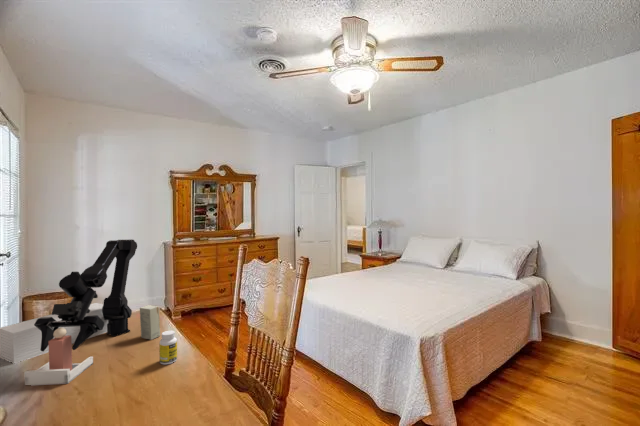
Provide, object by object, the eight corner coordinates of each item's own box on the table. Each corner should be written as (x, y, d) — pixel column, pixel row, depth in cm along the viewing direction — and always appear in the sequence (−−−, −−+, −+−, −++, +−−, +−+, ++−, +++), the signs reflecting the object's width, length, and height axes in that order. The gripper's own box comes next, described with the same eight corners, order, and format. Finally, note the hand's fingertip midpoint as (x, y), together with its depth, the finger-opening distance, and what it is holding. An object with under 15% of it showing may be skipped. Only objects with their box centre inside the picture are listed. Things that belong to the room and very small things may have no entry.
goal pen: (55, 365, 106) (54, 353, 106) (93, 363, 107) (92, 351, 107) (24, 385, 94) (24, 372, 94) (67, 383, 95) (67, 370, 95)
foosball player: (59, 369, 103) (57, 326, 102) (72, 369, 103) (71, 325, 103) (49, 376, 99) (48, 330, 98) (63, 375, 99) (61, 330, 99)
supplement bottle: (170, 365, 105) (169, 336, 105) (156, 364, 107) (155, 335, 106) (180, 358, 111) (180, 330, 110) (167, 356, 112) (166, 328, 112)
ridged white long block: (97, 326, 141) (96, 302, 141) (111, 330, 136) (111, 305, 136) (-1, 358, 113) (-2, 327, 112) (14, 364, 108) (12, 333, 108)
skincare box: (160, 336, 130) (160, 306, 129) (151, 340, 126) (150, 309, 125) (149, 333, 132) (149, 304, 132) (140, 337, 128) (139, 307, 128)
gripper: (37, 293, 104) (8, 341, 93) (98, 291, 105) (76, 338, 94) (56, 309, 112) (31, 355, 101) (112, 307, 113) (93, 352, 103)
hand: (57, 350), depth 100 cm, fingers open, 9 cm apart
